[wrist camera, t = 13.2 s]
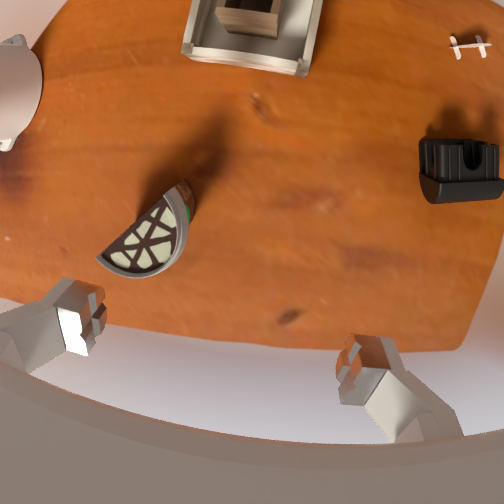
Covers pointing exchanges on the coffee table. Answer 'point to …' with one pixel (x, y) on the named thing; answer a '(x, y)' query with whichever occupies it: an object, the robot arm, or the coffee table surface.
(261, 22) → the small crate
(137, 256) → the food container
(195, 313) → the coffee table surface
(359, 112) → the coffee table surface
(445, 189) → the end cap
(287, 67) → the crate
